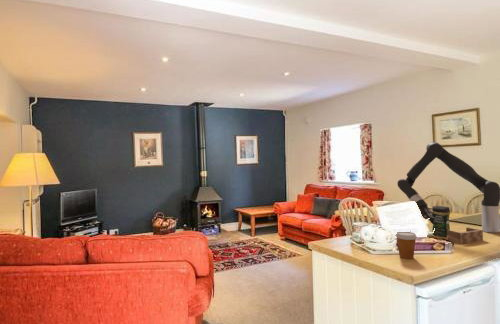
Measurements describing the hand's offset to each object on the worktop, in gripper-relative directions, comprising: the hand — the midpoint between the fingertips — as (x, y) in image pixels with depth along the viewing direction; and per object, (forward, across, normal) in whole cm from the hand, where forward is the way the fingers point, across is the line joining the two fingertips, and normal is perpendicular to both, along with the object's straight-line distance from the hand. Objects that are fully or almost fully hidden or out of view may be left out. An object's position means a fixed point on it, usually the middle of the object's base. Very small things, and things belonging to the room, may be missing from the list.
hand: (434, 223), depth 211 cm
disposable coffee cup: (+26, -57, -16) cm, 65 cm away
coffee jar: (+8, 0, +2) cm, 8 cm away
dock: (+19, 0, -9) cm, 21 cm away
